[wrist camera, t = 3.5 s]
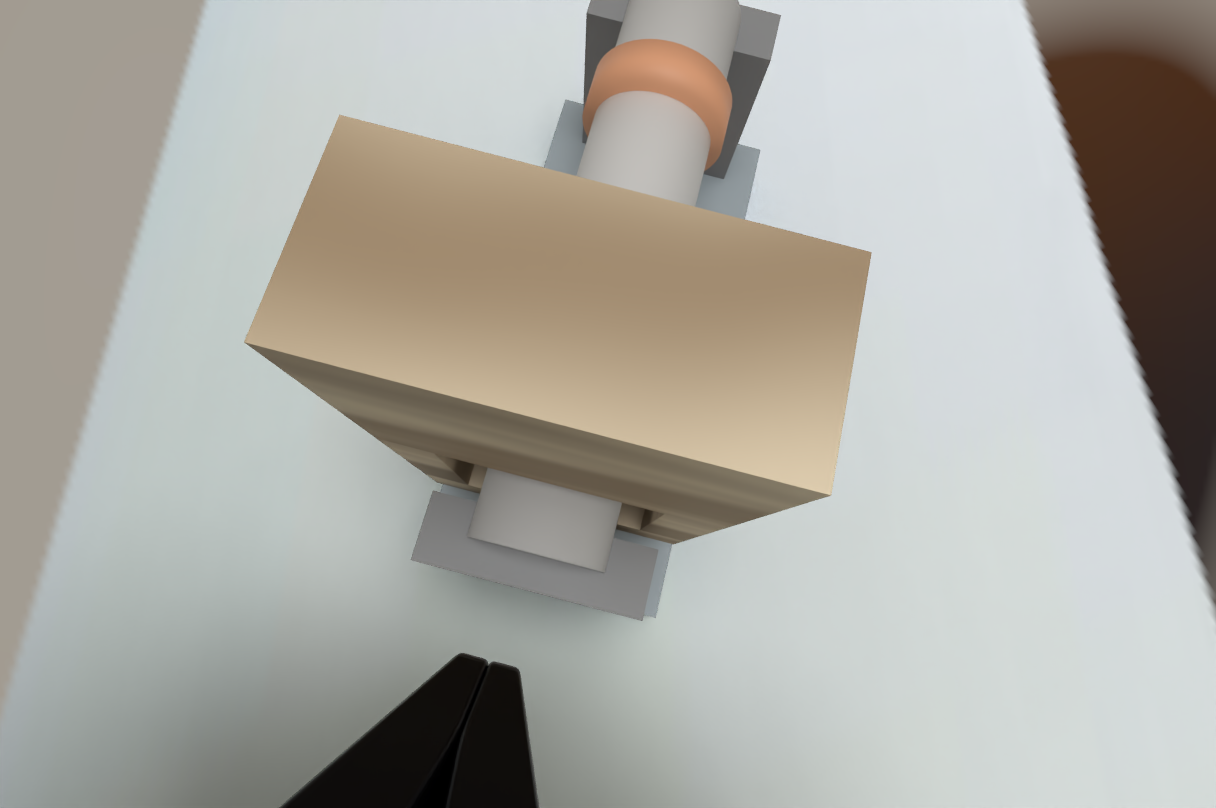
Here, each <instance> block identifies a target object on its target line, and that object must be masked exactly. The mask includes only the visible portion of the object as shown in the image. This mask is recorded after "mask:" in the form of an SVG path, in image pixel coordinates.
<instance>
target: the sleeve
mask: <svg viewBox="0 0 1216 808" xmlns="http://www.w3.org/2000/svg"><path fill="white" fill-rule="evenodd" d="M871 253H872V252H868V251H864V250H860V249H857V248H853V247H849V246H845V245H841V244H837V243H833V242H829V241H826V240H822V239H818V238H814V237H810V236H806V235H802V234H799V233H795V232H791V231H787V230H783V229H779V228H775V227H771V226H768V225H764V224H760V223H756V222H752V221H748V220H744V219H741V218H737V217H733V216H729V215H725V214H721V213H717V212H713V211H710V210H706V209H702V208H698V207H694V206H690V205H686V204H682V203H679V202H675V201H671V200H667V199H663V198H659V197H655V196H652V195H648V194H644V193H640V192H636V191H632V190H628V189H624V188H621V187H617V186H613V185H609V184H605V183H601V182H597V181H594V180H590V179H586V178H582V177H578V176H574V175H570V174H566V173H563V172H559V171H555V170H551V169H547V168H543V167H539V166H535V165H532V164H528V163H524V162H520V161H516V160H512V159H508V158H505V157H501V156H497V155H493V154H489V153H485V152H481V151H477V150H474V149H470V148H466V147H462V146H458V145H454V144H450V143H447V142H443V141H439V140H435V139H431V138H427V137H423V136H419V135H416V134H412V133H408V132H404V131H400V130H396V129H392V128H388V127H385V126H381V125H377V124H373V123H369V122H365V121H361V120H358V119H354V118H350V117H346V116H342V115H339V117H338V120H337V122H336V124H335V127H334V129H333V132H332V134H331V136H330V139H329V141H328V143H327V146H326V148H325V151H324V153H323V155H322V158H321V160H320V162H319V165H318V167H317V170H316V172H315V174H314V177H313V179H312V182H311V184H310V186H309V189H308V191H307V193H306V196H305V198H304V201H303V203H302V205H301V208H300V210H299V213H298V215H297V217H296V220H295V222H294V224H293V227H292V229H291V232H290V234H289V236H288V239H287V241H286V243H285V246H284V248H283V251H282V253H281V255H280V258H279V260H278V263H277V265H276V267H275V270H274V272H273V274H272V277H271V279H270V282H269V284H268V286H267V289H266V291H265V294H264V296H263V298H262V301H261V303H260V305H259V308H258V310H257V313H256V315H255V317H254V320H253V322H252V324H251V327H250V329H249V332H248V334H247V336H246V339H245V341H244V342H245V343H246V344H247V345H249V346H250V347H251V348H253V349H254V350H256V351H257V352H258V353H260V354H261V355H262V356H264V357H265V358H267V359H268V360H269V361H271V362H272V363H273V364H275V365H276V366H278V367H279V368H280V369H282V370H283V371H284V372H286V373H287V374H289V375H290V376H291V377H293V378H294V379H295V380H297V381H298V382H300V383H301V384H302V385H304V386H305V387H306V388H308V389H309V390H311V391H312V392H313V393H315V394H316V395H317V396H319V397H320V398H322V399H323V400H324V401H326V402H327V403H328V404H330V405H331V406H333V407H334V408H335V409H337V410H338V411H340V412H341V413H342V414H344V415H345V416H346V417H348V418H349V419H351V420H352V421H353V422H355V423H356V424H357V425H359V426H360V427H362V428H363V429H364V430H366V431H367V432H368V433H370V434H371V435H373V436H374V437H375V438H377V439H378V440H379V441H381V442H382V443H384V444H385V445H386V446H388V447H389V448H390V449H392V450H393V451H395V452H396V453H397V454H399V455H400V456H401V457H403V458H404V459H406V460H407V461H408V462H410V463H411V464H412V465H414V466H415V467H417V468H418V469H419V470H421V471H422V472H423V473H425V474H426V475H428V476H429V477H430V478H432V479H433V480H434V481H436V482H437V483H441V484H445V485H449V486H452V487H456V488H460V489H464V490H468V491H472V492H475V493H479V494H480V492H481V488H482V485H483V482H484V478H485V475H486V472H487V468H491V469H495V470H499V471H503V472H506V473H510V474H514V475H518V476H522V477H525V478H529V479H533V480H537V481H541V482H545V483H548V484H552V485H556V486H560V487H564V488H568V489H571V490H575V491H579V492H583V493H587V494H590V495H594V496H598V497H602V498H606V499H610V500H613V501H617V502H621V503H622V505H621V509H620V513H619V517H618V522H617V526H616V529H617V530H620V531H624V532H628V533H632V534H636V535H640V536H643V537H647V538H651V539H655V540H659V541H662V542H666V543H670V544H676V543H679V542H682V541H685V540H689V539H692V538H695V537H698V536H702V535H705V534H708V533H711V532H715V531H718V530H721V529H724V528H727V527H731V526H734V525H737V524H740V523H744V522H747V521H750V520H753V519H756V518H760V517H763V516H766V515H769V514H773V513H776V512H779V511H782V510H786V509H789V508H792V507H795V506H798V505H802V504H805V503H808V502H811V501H815V500H818V499H821V498H824V497H828V496H831V493H832V487H833V481H834V475H835V469H836V463H837V457H838V451H839V445H840V439H841V433H842V427H843V421H844V415H845V409H846V403H847V397H848V391H849V385H850V379H851V373H852V367H853V361H854V355H855V349H856V343H857V337H858V331H859V325H860V319H861V313H862V307H863V301H864V295H865V289H866V283H867V277H868V271H869V265H870V259H871Z"/></svg>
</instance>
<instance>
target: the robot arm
mask: <svg viewBox="0 0 1216 808" xmlns="http://www.w3.org/2000/svg"><path fill="white" fill-rule="evenodd" d="M279 808H539V802H538V795H537V788H536V781H535V774H534V767H533V760H532V753H531V746H530V738H529V731H528V724H527V717H526V710H525V703H524V696H523V689H522V682H521V675H520V671H519V670H518V669H517V668H516V667H513V666H509V665H506V664H502V663H498V662H491V663H490V664H489V665H488V662H487V660H486V659H483V658H480V657H476V656H473V655H469V654H465V653H460V654H458V655H456V656H455V657H454V658H453V659H451V660H450V661H449V662H448V663H447V664H446V665H444V666H443V667H442V668H441V669H440V670H439V671H437V672H436V673H435V674H434V675H433V676H432V677H430V678H429V679H428V680H427V681H426V682H425V683H423V684H422V685H421V686H420V687H419V688H418V689H416V690H415V691H414V692H413V693H412V694H411V695H409V696H408V697H407V698H406V699H405V700H404V701H402V702H401V703H400V704H399V705H398V706H397V707H396V708H394V709H393V710H392V711H391V712H390V713H389V714H387V715H386V716H385V717H384V718H383V719H382V720H380V721H379V722H378V723H377V724H376V725H375V726H373V727H372V728H371V729H370V730H369V731H368V732H366V733H365V734H364V735H363V736H362V737H361V738H359V739H358V740H357V741H356V742H355V743H354V744H352V745H351V746H350V747H349V748H348V749H347V750H345V751H344V752H343V753H342V754H341V755H340V756H338V757H337V758H336V759H335V760H334V761H333V762H331V763H330V764H329V765H328V766H327V767H326V768H324V769H323V770H322V771H321V772H320V773H319V774H318V775H316V776H315V777H314V778H313V779H312V780H311V781H309V782H308V783H307V784H306V785H305V786H304V787H302V788H301V789H300V790H299V791H298V792H297V793H295V794H294V795H293V796H292V797H291V798H290V799H288V800H287V801H286V802H285V803H284V804H283V805H281V806H280V807H279Z"/></svg>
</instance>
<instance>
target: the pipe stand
mask: <svg viewBox="0 0 1216 808" xmlns="http://www.w3.org/2000/svg"><path fill="white" fill-rule="evenodd" d="M780 17H781V15H778V14H774V13H770V12H766V11H762V10H758V9H755V8H751V7H747V6H743V5H739V2H738V0H591V1H590V4H589V7H588V11H587V19H586V49H585V78H584V104H581V103H577V102H573V101H569V100H565V103H564V106H563V109H562V112H561V115H560V118H559V121H558V125H557V128H556V131H555V134H554V137H553V140H552V143H551V147H550V150H549V153H548V156H547V159H546V162H545V165H544V168H547V169H551V170H555V171H559V172H563V173H566V174H570V175H574V176H578V177H582V178H586V179H590V180H594V181H597V182H601V183H605V184H609V185H613V186H617V187H621V188H624V189H628V190H632V191H636V192H640V193H644V194H648V195H652V196H655V197H659V198H663V199H667V200H671V201H675V202H679V203H682V204H686V205H690V206H694V207H698V208H702V209H706V210H710V211H713V212H717V213H721V214H725V215H729V216H733V217H737V218H741V219H744V220H745V216H746V212H747V207H748V203H749V198H750V194H751V189H752V185H753V180H754V176H755V172H756V167H757V163H758V158H759V154H760V150H759V149H755V148H751V147H747V146H744V145H740V144H738V142H739V139H740V137H741V134H742V132H743V129H744V127H745V124H746V122H747V119H748V116H749V114H750V111H751V109H752V106H753V104H754V101H755V99H756V96H757V94H758V91H759V88H760V86H761V83H762V81H763V78H764V76H765V73H766V71H767V68H768V66H769V63H770V60H771V56H772V52H773V48H774V43H775V39H776V34H777V30H778V26H779V21H780ZM621 505H622V503H621V502H617V501H613V500H610V499H606V498H602V497H598V496H594V495H590V494H587V493H583V492H579V491H575V490H571V489H568V488H564V487H560V486H556V485H552V484H548V483H545V482H541V481H537V480H533V479H529V478H525V477H522V476H518V475H514V474H510V473H506V472H503V471H499V470H495V469H491V468H487V472H486V475H485V478H484V482H483V485H482V488H481V492H480V494H479V493H475V492H472V491H468V490H464V489H460V488H456V487H452V486H449V485H445V484H443V485H442V489H441V492H437V491H433V492H432V495H431V498H430V502H429V505H428V508H427V511H426V514H425V517H424V520H423V523H422V526H421V529H420V533H419V536H418V539H417V542H416V545H415V548H414V551H413V554H412V557H411V560H413V561H416V562H420V563H424V564H428V565H432V566H435V567H439V568H443V569H447V570H451V571H455V572H458V573H462V574H466V575H470V576H474V577H477V578H481V579H485V580H489V581H493V582H496V583H500V584H504V585H508V586H512V587H515V588H519V589H523V590H527V591H531V592H534V593H538V594H542V595H546V596H550V597H553V598H557V599H561V600H565V601H569V602H572V603H576V604H580V605H584V606H588V607H592V608H595V609H599V610H603V611H607V612H611V613H614V614H618V615H622V616H626V617H630V618H633V619H637V620H641V621H642V620H643V616H644V615H647V616H651V617H655V618H656V613H657V609H658V604H659V600H660V596H661V591H662V587H663V582H664V578H665V573H666V569H667V564H668V560H669V555H670V551H671V546H672V544H670V543H666V542H662V541H659V540H655V539H651V538H647V537H643V536H640V535H636V534H632V533H628V532H624V531H620V530H617V529H616V526H617V522H618V517H619V513H620V509H621Z"/></svg>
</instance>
